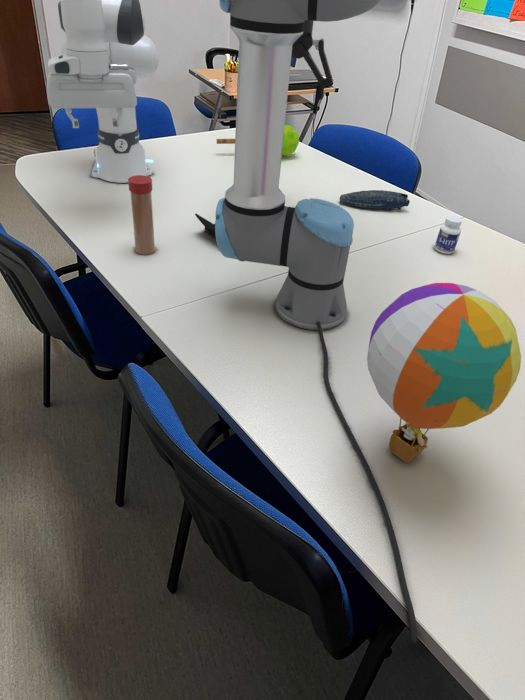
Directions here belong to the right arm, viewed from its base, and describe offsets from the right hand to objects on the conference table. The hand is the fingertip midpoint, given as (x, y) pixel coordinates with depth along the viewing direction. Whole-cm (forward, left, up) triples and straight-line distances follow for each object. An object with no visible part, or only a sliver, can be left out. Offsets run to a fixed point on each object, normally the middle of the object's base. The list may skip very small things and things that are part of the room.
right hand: (288, 109), depth 135 cm
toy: (-86, -31, -28) cm, 96 cm away
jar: (-34, +29, -28) cm, 53 cm away
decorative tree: (+46, +14, -28) cm, 55 cm away
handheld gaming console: (-21, +13, -28) cm, 37 cm away
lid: (-34, +29, -10) cm, 46 cm away
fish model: (+13, -28, -28) cm, 41 cm away
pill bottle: (-11, -47, -28) cm, 56 cm away
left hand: (-19, +45, -5) cm, 49 cm away
